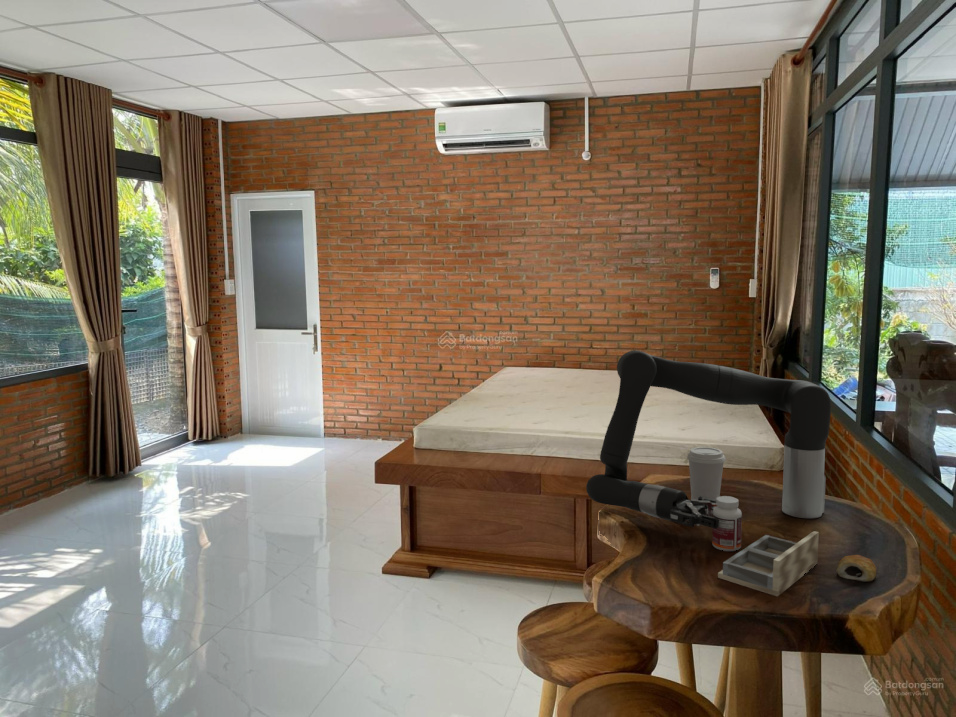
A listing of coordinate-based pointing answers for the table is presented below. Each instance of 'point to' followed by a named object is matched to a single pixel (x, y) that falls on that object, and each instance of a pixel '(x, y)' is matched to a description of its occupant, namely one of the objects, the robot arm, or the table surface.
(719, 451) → the coffee cup
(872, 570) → the pastry
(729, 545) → the pill bottle
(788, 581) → the bottle rack
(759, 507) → the table surface
